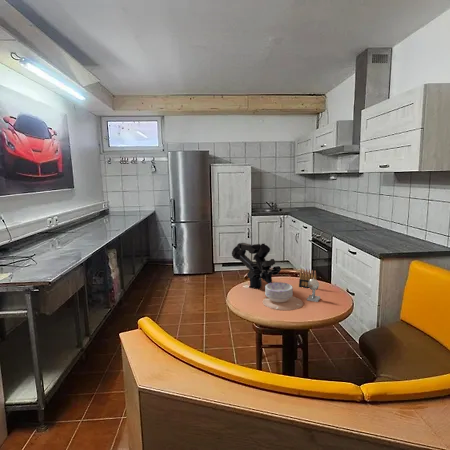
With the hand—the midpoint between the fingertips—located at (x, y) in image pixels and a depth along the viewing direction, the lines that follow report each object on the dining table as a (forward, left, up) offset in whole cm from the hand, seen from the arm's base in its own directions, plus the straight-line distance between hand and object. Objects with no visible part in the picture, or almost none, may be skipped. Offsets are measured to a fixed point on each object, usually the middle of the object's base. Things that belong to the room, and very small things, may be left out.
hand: (271, 284), depth 192 cm
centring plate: (+9, -7, -7) cm, 14 cm away
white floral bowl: (+6, -5, -7) cm, 10 cm away
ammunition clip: (+15, +23, -7) cm, 29 cm away
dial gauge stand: (+23, +5, -7) cm, 25 cm away
